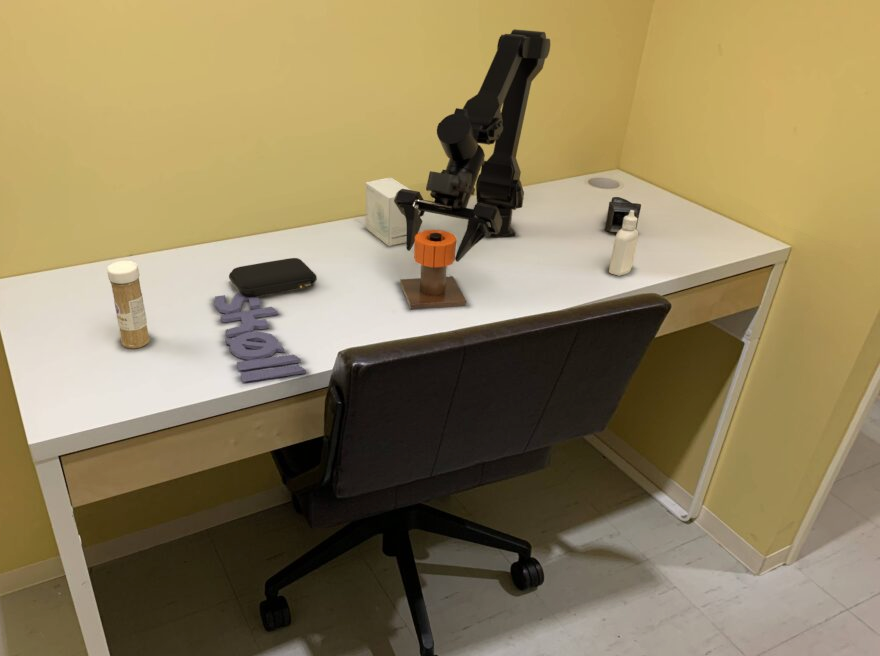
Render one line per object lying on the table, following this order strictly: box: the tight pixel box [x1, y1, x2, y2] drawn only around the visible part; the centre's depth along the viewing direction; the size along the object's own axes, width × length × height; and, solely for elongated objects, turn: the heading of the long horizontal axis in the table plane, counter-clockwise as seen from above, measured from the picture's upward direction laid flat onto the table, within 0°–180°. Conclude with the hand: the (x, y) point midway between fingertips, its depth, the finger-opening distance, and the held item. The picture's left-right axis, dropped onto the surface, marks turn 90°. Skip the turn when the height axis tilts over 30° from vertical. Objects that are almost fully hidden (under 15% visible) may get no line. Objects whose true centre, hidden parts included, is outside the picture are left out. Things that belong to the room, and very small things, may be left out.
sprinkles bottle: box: [106, 260, 151, 349], centre depth 119 cm, size 5×5×14 cm
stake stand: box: [399, 233, 467, 310], centre depth 135 cm, size 10×10×12 cm
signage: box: [214, 292, 307, 383], centre depth 125 cm, size 28×1×10 cm
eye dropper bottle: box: [608, 210, 639, 277], centre depth 144 cm, size 4×6×12 cm
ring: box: [413, 229, 457, 267], centre depth 133 cm, size 7×7×4 cm
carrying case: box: [228, 257, 318, 298], centre depth 139 cm, size 11×3×15 cm
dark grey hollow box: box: [604, 196, 642, 233], centre depth 164 cm, size 6×13×6 cm, turn 170°
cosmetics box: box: [365, 176, 411, 247], centre depth 158 cm, size 10×6×10 cm, turn 27°
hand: (432, 255), depth 133 cm, fingers open, 9 cm apart
